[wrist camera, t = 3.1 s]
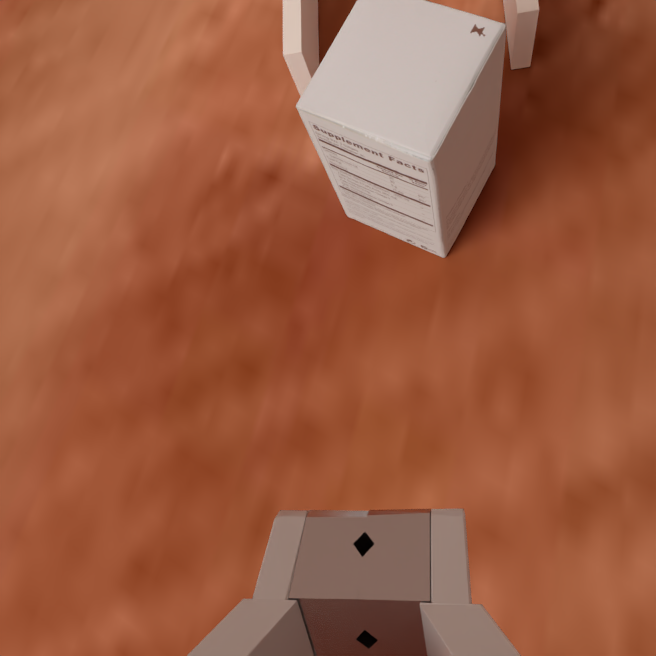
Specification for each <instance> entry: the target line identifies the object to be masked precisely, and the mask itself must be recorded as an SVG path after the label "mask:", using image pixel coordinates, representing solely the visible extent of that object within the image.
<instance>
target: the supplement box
mask: <svg viewBox="0 0 656 656" xmlns="http://www.w3.org/2000/svg"><path fill="white" fill-rule="evenodd" d="M505 40H506V24H505V23H501V22H497V21H494V20H491V19H488V18H485V17H481V16H478V15H475V14H471V13H468V12H464V11H461V10H457V9H454V8H450V7H447V6H443V5H440V4H436V3H432V2H429V1H426V0H357V1H356V3H355V5H354V7H353V8H352V10H351V12H350V14H349V15H348V17H347V19H346V20H345V22H344V24H343V26H342V27H341V29H340V31H339V32H338V34H337V36H336V38H335V39H334V41H333V43H332V45H331V46H330V48H329V50H328V51H327V53H326V55H325V57H324V58H323V60H322V62H321V64H320V65H319V67H318V69H317V70H316V72H315V74H314V75H313V77H312V79H311V81H310V82H309V84H308V86H307V87H306V89H305V91H304V93H303V94H302V96H301V98H300V99H299V101H298V103H297V104H296V108H297V110H298V112H299V114H300V116H301V118H302V120H303V123H304V125H305V127H306V129H307V131H308V133H309V135H310V138H311V140H312V142H313V144H314V146H315V148H316V151H317V153H318V155H319V157H320V159H321V161H322V163H323V165H324V168H325V170H326V172H327V174H328V176H329V178H330V180H331V183H332V185H333V187H334V189H335V191H336V193H337V196H338V198H339V200H340V202H341V204H342V206H343V209H344V211H345V213H346V215H347V216H348V217H350V218H352V219H355V220H357V221H359V222H362V223H364V224H366V225H369V226H371V227H373V228H375V229H378V230H380V231H382V232H385V233H387V234H389V235H391V236H394V237H396V238H398V239H401V240H403V241H405V242H408V243H410V244H412V245H415V246H417V247H419V248H422V249H424V250H426V251H429V252H431V253H433V254H435V255H438V256H440V257H443V258H445V257H446V256H447V254H448V252H449V250H450V249H451V247H452V245H453V243H454V242H455V240H456V238H457V236H458V234H459V232H460V230H461V229H462V227H463V225H464V223H465V221H466V219H467V217H468V215H469V214H470V212H471V210H472V208H473V206H474V204H475V202H476V200H477V198H478V196H479V195H480V193H481V191H482V189H483V187H484V185H485V183H486V181H487V179H488V177H489V176H490V174H491V172H492V170H493V168H494V166H495V159H496V148H497V136H498V123H499V111H500V100H501V88H502V75H503V63H504V52H505Z"/></svg>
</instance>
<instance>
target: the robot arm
mask: <svg viewBox="0 0 656 656" xmlns="http://www.w3.org/2000/svg"><path fill="white" fill-rule="evenodd" d="M187 656H521V655H520V654H519V652H518V651H517V650H516V648H515V647H514V646H513V645H512V643H511V642H510V641H509V639H508V638H507V637H506V635H505V634H504V633H503V631H502V630H501V629H500V628H499V626H498V625H497V624H496V622H495V621H494V620H493V618H492V617H491V616H490V614H489V613H488V612H487V611H486V609H485V608H484V607H483V605H482V604H472V598H471V585H470V572H469V559H468V546H467V533H466V520H465V512H464V509H400V510H369V511H336V510H280V511H279V513H278V514H277V516H276V517H275V519H274V523H273V527H272V530H271V534H270V537H269V541H268V544H267V548H266V552H265V555H264V559H263V562H262V566H261V569H260V573H259V577H258V580H257V584H256V587H255V591H254V595H253V598H252V599H243V600H242V601H241V602H240V603H239V604H238V605H237V606H236V607H235V608H234V609H233V610H232V611H231V612H230V613H229V614H228V615H227V616H226V617H225V618H224V619H223V620H222V621H221V622H220V623H219V624H218V625H217V626H216V627H215V628H214V629H213V630H212V631H211V632H210V633H209V634H208V635H207V636H206V637H205V638H204V639H203V640H202V641H201V642H200V643H199V644H198V645H197V646H196V647H195V648H194V649H193V650H192V651H191V652H190V653H189V654H188V655H187Z"/></svg>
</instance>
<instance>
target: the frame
mask: <svg viewBox="0 0 656 656" xmlns="http://www.w3.org/2000/svg"><path fill="white" fill-rule="evenodd" d="M503 4H504V12H505V21H506V30H507V38H508V47H509V56H510V64H511V70H513V69H519V68H525V67H530V64H531V58H532V52H533V45H534V39H535V33H536V27H537V20H538V14H539V4H538V0H503ZM283 56H284V59H285V61H286V63H287V66H288V68H289V70H290V73H291V75H292V77H293V80H294V82H295V84H296V87H297V89H298V91H299V94H300V96H302V94H303V93H304V91H305V89H306V87H307V86H308V84H309V82H310V81H311V79H312V77H313V75H314V74H315V72H316V70H317V69H318V67H319V31H318V0H283Z"/></svg>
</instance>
